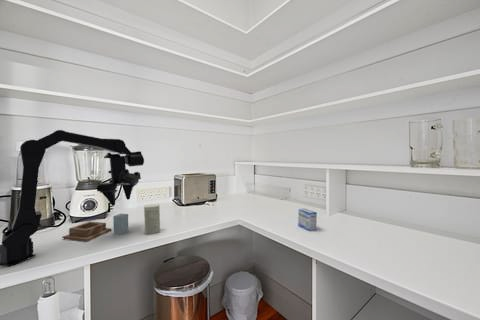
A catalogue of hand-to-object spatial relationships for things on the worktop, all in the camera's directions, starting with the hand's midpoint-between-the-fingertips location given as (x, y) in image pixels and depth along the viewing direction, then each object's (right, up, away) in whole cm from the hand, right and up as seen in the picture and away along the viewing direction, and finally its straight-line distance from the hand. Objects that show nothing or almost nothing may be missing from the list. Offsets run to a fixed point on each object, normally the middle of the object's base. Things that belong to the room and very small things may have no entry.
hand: (121, 202), depth 87 cm
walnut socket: (-13, -14, -2) cm, 19 cm away
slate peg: (0, -14, 0) cm, 14 cm away
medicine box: (+86, -15, +8) cm, 88 cm away
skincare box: (+13, -14, +1) cm, 19 cm away
